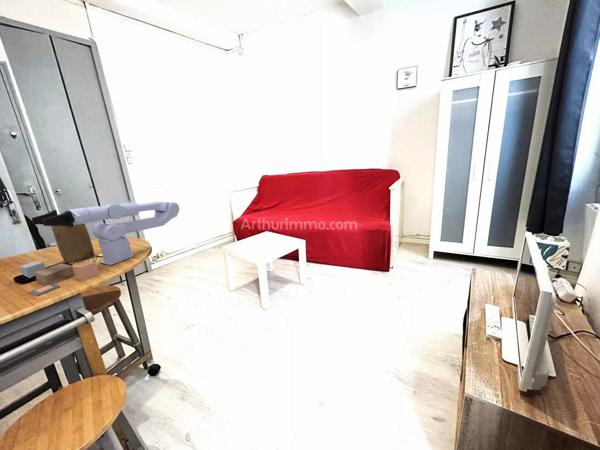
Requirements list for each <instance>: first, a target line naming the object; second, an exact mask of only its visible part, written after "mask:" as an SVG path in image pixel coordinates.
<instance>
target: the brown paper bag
mask: <svg viewBox="0 0 600 450" xmlns="http://www.w3.org/2000/svg"><path fill="white" fill-rule="evenodd" d="M50 227H51V231H52V233H53V237H54V240H55V242H56V243H55V244H56V245H57V246H56V247H57V249H58V251H59V253H60V255H61V258H62V260H63V261H64V262H65V263H75V262H79V261H83V260H86V259H88V258H91V257H93V256H94V255H95V250H94V246H93V243H92V239H91V237H90V234H89V230H88V229H87V227H86V223H84V224H77V225H74V226H73V227H68V226H50Z"/></svg>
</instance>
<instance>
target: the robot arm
mask: <svg viewBox="0 0 600 450" xmlns="http://www.w3.org/2000/svg"><path fill="white" fill-rule="evenodd" d="M149 211H154V214H153V215H154V216H152V217H147V218H141V219H135V220H129V221H124V222H116V223H115V222H113V223H104V222H100V221H104V220H109V219H111V220H120V219H122V218H127V217H133V216H137V215H139V213H140V212H149ZM179 212H180V205H179V204H178V203H177V202H174V201H173V202H170V201H169V202H166V201H152V202H145V203H139V204H138V203H137V202H135V201H132V200H128V201H126V202H122V203H120V202H115V204H106V203H105V204H103V205H100V206H99V205H96V206H95V205H94V206H88V207H87V206H85V207H79V208H71V205H70V206H69V205H66V206H65V210H64V211H62V212H60V213H58V211H57V209H53V210H51V211H49V212H46V213H44V214H41V215H37V216H35V217H31V222H32V225H43V227H44V226H45V227H51V226H68V227H73V226H74V225H77V224H88V223H95V222H98V223H96V224H95V225H94V226H93V227H92V235H93V236H94V237H96V238H97V239H98V246H99V248H100V250H101V251H100V252H101V255H102V258H103V260H100V261H99V263H101V264H104V265H109V266H112V265H115V264H117V263H120V262H123V261H125V260H127V259H131V258H133V257H134V254H133V251H132V247H131V243H130V241H129V239H128V237H126V235H127V234H131V233H136V232H140V231H145V230H148V229H155V228H158V227H163V226H165V225H167V223H169V222H170V221H171V220H173V219H174V218H176V217H177V216H178V215H179Z"/></svg>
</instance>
